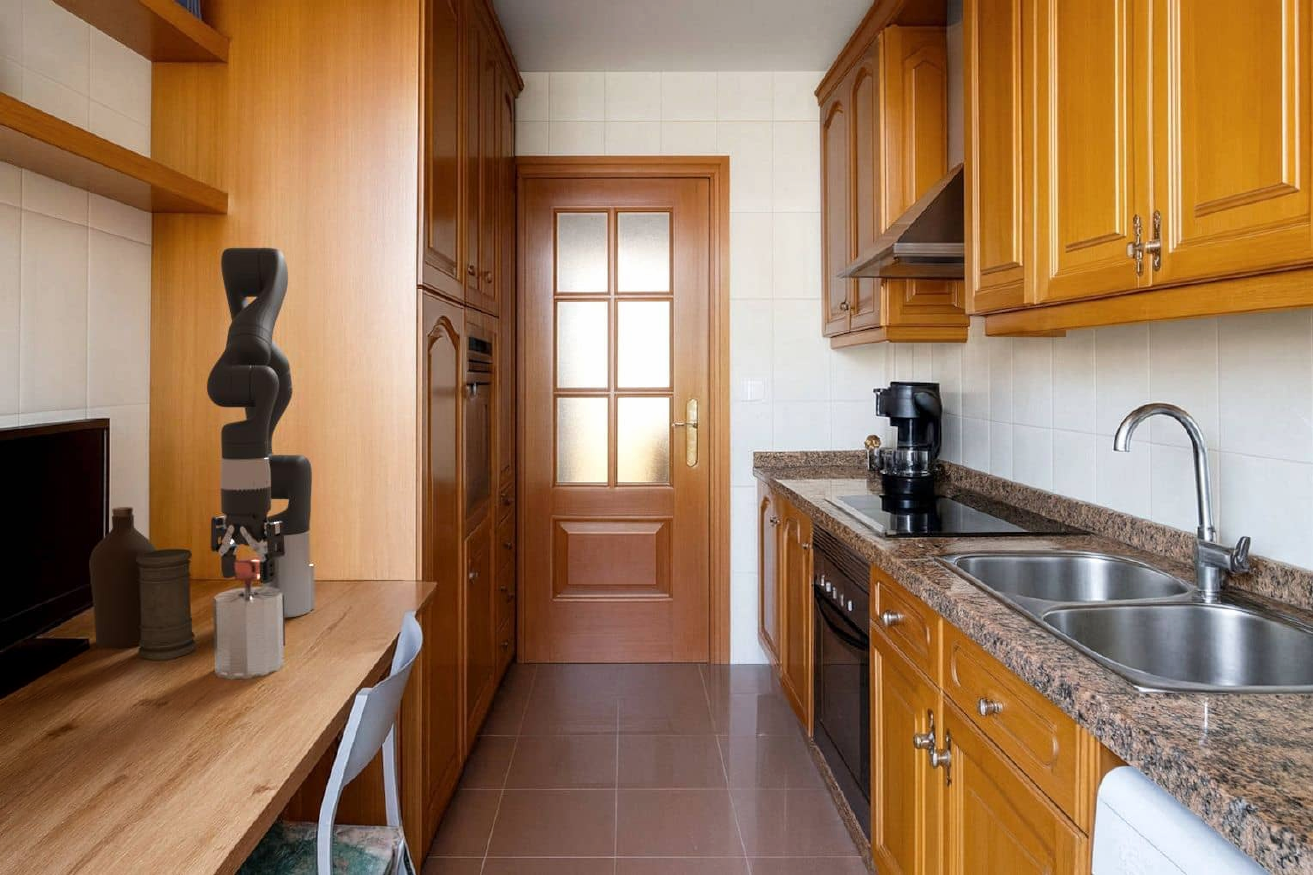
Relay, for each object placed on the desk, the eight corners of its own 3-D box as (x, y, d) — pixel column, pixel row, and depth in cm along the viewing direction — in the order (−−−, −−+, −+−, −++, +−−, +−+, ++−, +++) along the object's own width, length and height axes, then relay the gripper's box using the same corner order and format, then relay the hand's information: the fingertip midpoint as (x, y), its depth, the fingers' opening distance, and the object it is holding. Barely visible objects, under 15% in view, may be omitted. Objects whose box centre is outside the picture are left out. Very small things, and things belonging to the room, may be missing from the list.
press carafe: (260, 652, 146) (258, 582, 146) (303, 660, 143) (302, 588, 142) (201, 673, 136) (199, 598, 135) (246, 683, 132) (245, 605, 131)
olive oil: (87, 653, 144) (82, 514, 142) (97, 636, 154) (93, 505, 152) (156, 646, 149) (153, 510, 147) (163, 629, 158) (159, 502, 157)
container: (169, 662, 141) (166, 560, 139) (125, 658, 142) (122, 556, 141) (207, 646, 149) (205, 549, 148) (165, 642, 151) (163, 546, 150)
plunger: (251, 649, 143) (249, 554, 142) (282, 655, 140) (280, 558, 139) (215, 662, 136) (213, 562, 135) (247, 668, 134) (245, 566, 132)
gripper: (295, 484, 137) (297, 579, 138) (234, 479, 142) (236, 570, 143) (259, 490, 130) (261, 589, 131) (195, 484, 135) (197, 580, 136)
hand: (248, 579), depth 137 cm, fingers open, 8 cm apart
